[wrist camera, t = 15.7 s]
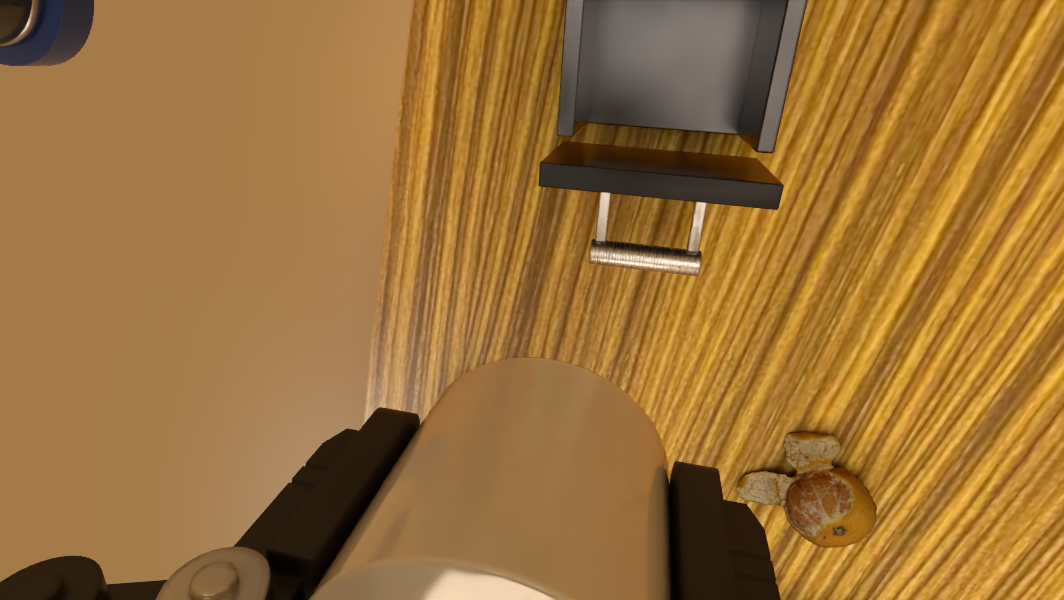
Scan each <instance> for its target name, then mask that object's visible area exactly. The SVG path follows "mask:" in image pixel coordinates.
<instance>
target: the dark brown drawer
mask: <svg viewBox="0 0 1064 600" xmlns="http://www.w3.org/2000/svg"><path fill="white" fill-rule="evenodd" d="M806 5H807V0H566V12H565V26H564V40H563V54H562V68H561V82H560V96H559V110H558V124H557V135H559V136H571V137H572V136H574V135H575V134H576V133H577V132H578V131H579V130H580V129H581V128H582V127H583V126H584V125H585V124H586V123H596V124H608V125H621V126H633V127H646V128H658V129H670V130H683V131H695V132H708V133H720V134H733V135H739V136H740V137H741V138H742V139H743V140H744V141H745V142H746V143H747V144H749V145H750V146H751V147H752V148H753V149H754V150H755V151H756V152H762V153H773V152H774V149H775V145H776V140H777V136H778V131H779V127H780V122H781V118H782V113H783V109H784V104H785V100H786V95H787V91H788V86H789V82H790V77H791V73H792V68H793V64H794V59H795V55H796V50H797V46H798V41H799V37H800V32H801V28H802V23H803V19H804V14H805V9H806ZM539 186H541V187H551V188H561V189H571V190H581V191H591V192H600V198H599V207H598V217H597V226H596V236H595V239H592V241H591V246H590V254H589V263H590V264H598V265H606V266H615V267H623V268H631V269H640V270H648V271H657V272H665V273H673V274H682V275H690V276H698V275H699V272H700V267H701V260H702V253H701V251H699V246H700V241H701V235H702V230H703V224H704V219H705V213H706V208H707V203H712V204H722V205H732V206H742V207H753V208H763V209H773V210H778V208H779V204H780V200H781V195H782V191H783V187H784V185H783V184H782V183H781V182H780V181H779V180H778V179H777V178H776V177H775V176H774V175H773V174H772V173H771V172H770V171H769V170H768V169H767V168H766V167H765V166H764V165H763V164H762V163H761V162H760V161H759V160H758V159H757V158H750V157H738V156H727V155H715V154H703V153H692V152H680V151H669V150H657V149H645V148H634V147H622V146H611V145H599V144H587V143H576V142H562V143H561V144H560V145H559V146H558V147H557V148H556V149H555V150H554V151H552V152H551V153H550V154H549V155H548V156H547V157H546V158H545V159H544V160H542V161H541V162H540V171H539ZM612 194H622V195H632V196H642V197H652V198H662V199H672V200H682V201H692V202H695V203H694V209H693V214H692V220H691V226H690V232H689V238H688V243H687V249H679V248H670V247H661V246H652V245H643V244H634V243H626V242H617V241H608V240H606V239H607V230H608V221H609V213H610V204H611V195H612Z"/></svg>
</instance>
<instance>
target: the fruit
mask: <svg viewBox="0 0 1064 600" xmlns="http://www.w3.org/2000/svg"><path fill="white" fill-rule="evenodd" d="M783 446H784V447H785V450H786V457H785V458H786V461H787V462H789V463H790V464H791V465H792V466H793V467H794V468H796V470H797V475H796V476H795V477H793V478H788V477H787V476H786V474H784V475H783V474H775V473H768V472H766V471H762V472H752V473H751V474H747V475H745V476H743V477H742V479H741V480H740V481H739V483H738V485H737V493H738V496H739V497H740V498H742V499H743V500H746V501H751V502H756V503H763V504H769V505H772V504H777V505H779V506H784V508H785V513H786V516H787V519H788V521H789V523H790V524H791V526H792V527H793V528H794V529H795V530H796V531H797V532H798V533H799V534H800V535H801V536H803V537H804V538H805V539H807V540H808V541H810V542H812V543H813V544H815V545H818V546H822V547H827V548H831V547H833V548H835V547H844V546H847V545H851V544H854V543H857V542H858V541H859V540H861V539H862V538H863V537H866V536H867V535H868V534H869V533H870V532H871V531H872V529H873V527H874V525H875V522H876V517H877V516H876V510H877V507H876V505H875V503H874V502H873V499H872V497H871V496H870V493H869V490H868V489H867V488H866V487H865V486H864V484H863V483H862V482H861V481H860V480H859V479H858V478H857V476H856V475H855V476H854V475H852V474H850V473H849V472H848V471H847V470H846V469H844V468H843V467H839V468H836V469H835V468H834V467H833V466H832V465H831V462H832V460H833V459H834V457H835V456H836V455H837V454H838V453H839V452H840V450H841V445H840V443H839V441H838V440H837V439H836V437H834V436H832V435H828V434H826V435H820V434H814V433H810V432H800V433H794V432H793V433H788V435H787V436H786V438H785V443H784V444H783Z"/></svg>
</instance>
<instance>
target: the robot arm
mask: <svg viewBox="0 0 1064 600" xmlns="http://www.w3.org/2000/svg"><path fill="white" fill-rule="evenodd" d="M44 10H45V0H0V46H16V45H20V44H22V43H25V42H26V41H28V40H29V39H30V38H31V37H32V36H33V35H34V34H35V33H36V31H37V30H38V28H39V26H40V24H41V22H42V19H43V15H44ZM419 426H420V419H419V416H418V415H417V414H415V413H410V412H404V411H398V410H393V409H387V408H381V407H380V408H378V409H376V410H375V411H374V413H373V414H372V415H371V416H370V418H369V419H368V420H367V421H366V423H365V424H364V425H363V426H362V428H361V429H360V430H359V431H358V430H352V429H345V430H344V431H342V432H341V433H339V434H337V435H336V436H334V437H332V438H331V439H329V440H327V441H326V442H324V443H322V445H321V446H320V447H319V448H318V449H317V450H316V452H315V453H314V454H313V455H312V456H311V458H310V459H309V460H308V461H307V462H306V466H305V467H304V466H303V467H302V468H301V469H300V470H299V471H298V473H297V474H296V475H295V476H294V477H293V478H292V482H291V483H288V484H287V485H286V486H285V488H284V489H283V490H282V491H281V492H280V493H279V495H278V496H277V497H276V498H275V499H274V500H273V502H272V503H271V504H270V505H269V506H268V507H267V509H266V510H265V511H264V512H263V513H262V514H261V515H260V517H259V518H258V519H257V520H256V521H255V522H254V524H253V525H252V526H251V527H250V528H249V529H248V531H247V532H246V533H245V534H244V535H243V536H242V537H241V539H240V540H239V541H238V542H237V543H236V544H235V545H234V546H233V547H227V548H221V549H216V550H213V551H210V552H207V553H204V554H202V555H200V556H198V557H196V558H194V559H192V560H191V561H189V562H187V563H186V564H184V565H183V566H182V567H180V568H179V569H178V570H177V571H176V572H175V573H174V574H173V575H171V577H170V578H169V579H168V580H161V581H148V582H134V583H121V584H107V585H106V582H105V578H104V575H103V572H102V569H101V568H100V566H99V565H98V564H97V563H96V562H95V561H94V560H92V559H90V558H86V557H82V556H64V557H57V558H52V559H49V560H45V561H42V562H39V563H36V564H34V565H31V566H29V567H27V568H24V569H22V570H20V571H18V572H17V573H15V574H13V575H11V576H10V577H8V578H6V579H5V580H3V581H1V582H0V600H309V598H310V596H311V595H312V593H313V592H314V590H315V589H316V587H317V586H318V584H319V582H320V581H321V579H322V578H323V576H324V575H325V573H326V572H327V570H328V568H329V567H330V565H331V564H332V562H333V561H334V559H335V557H336V556H337V554H338V553H339V551H340V550H341V548H342V547H343V545H344V543H345V542H346V540H347V539H348V537H349V536H350V534H351V532H352V531H353V529H354V528H355V526H356V525H357V523H358V522H359V520H360V518H361V517H362V515H363V514H364V512H365V511H366V509H367V508H368V506H369V504H370V503H371V501H372V500H373V498H374V497H375V495H376V493H377V492H378V490H379V489H380V487H381V486H382V484H383V483H384V481H385V479H386V478H387V476H388V475H389V473H390V472H391V470H392V468H393V467H394V465H395V464H396V462H397V461H398V459H399V458H400V456H401V454H402V453H403V451H404V450H405V448H406V447H407V445H408V443H409V442H410V440H411V439H412V437H413V436H414V434H415V433H416V431H417V429H418V428H419ZM669 497H670V528H671V559H672V589H673V600H781V599H780V595H779V590H778V586H777V585H776V583H775V580H776V577H775V573H774V569H773V564H772V561H770V551H769V547H768V543H767V538H766V534H765V530H764V528H763V527H762V525H761V524H760V522H759V521H758V520H757V518H756V517H755V515H754V514H753V513H752V511H751V510H750V508H749V507H748V506H747V504H743V503H737V502H732V501H727V500H723V494H722V488H721V481H720V475H719V471H718V469H717V468H711V467H706V466H700V465H695V464H689V463H684V462H678V461H675V463H674V465H673V469H672V474H671V478H670V483H669Z"/></svg>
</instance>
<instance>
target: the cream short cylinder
mask: <svg viewBox="0 0 1064 600" xmlns="http://www.w3.org/2000/svg"><path fill="white" fill-rule="evenodd" d="M309 600H673V589H672V559H671V528H670V497H669V469H668V461H667V456H666V451H665V448H664V445H663V443H662V440H661V437H660V435H659V433H658V432H657V430H656V428H655V426H654V424H653V423H652V421H651V420H650V418H649V417H648V416H647V414H646V413H645V412H644V410H643V409H642V408H641V407H640V406H639V405H638V404H637V403H636V402H635V401H634V400H633V399H632V398H631V397H630V396H629V395H628V394H627V393H625V392H624V391H623V390H622V389H620V388H619V387H618V386H617V385H615V384H613V383H612V382H610V381H609V380H607V379H605V378H604V377H602V376H600V375H598V374H596V373H594V372H592V371H590V370H588V369H585V368H583V367H580V366H577V365H574V364H571V363H567V362H563V361H558V360H554V359H546V358H536V357H522V358H511V359H504V360H499V361H495V362H491V363H488V364H484V365H482V366H480V367H477V368H475V369H473V370H470V371H469V372H467V373H465V374H464V375H462V376H460V377H459V378H457V379H456V380H455V381H454V382H453V383H451V384H450V385H449V386H448V387H447V388H446V389H445V390H444V391H443V392H442V393H441V395H440V396H439V397H438V398H437V400H436V401H435V403H434V404H433V406H432V408H431V409H430V411H429V412H428V414H427V415H426V417H425V419H424V420H423V422H422V423H421V425H420V426H419V428H418V429H417V431H416V433H415V434H414V436H413V437H412V439H411V440H410V442H409V443H408V445H407V447H406V448H405V450H404V451H403V453H402V454H401V456H400V458H399V459H398V461H397V462H396V464H395V465H394V467H393V468H392V470H391V472H390V473H389V475H388V476H387V478H386V479H385V481H384V483H383V484H382V486H381V487H380V489H379V490H378V492H377V493H376V495H375V497H374V498H373V500H372V501H371V503H370V504H369V506H368V508H367V509H366V511H365V512H364V514H363V515H362V517H361V518H360V520H359V522H358V523H357V525H356V526H355V528H354V529H353V531H352V532H351V534H350V536H349V537H348V539H347V540H346V542H345V543H344V545H343V547H342V548H341V550H340V551H339V553H338V554H337V556H336V557H335V559H334V561H333V562H332V564H331V565H330V567H329V568H328V570H327V572H326V573H325V575H324V576H323V578H322V579H321V581H320V582H319V584H318V586H317V587H316V589H315V590H314V592H313V593H312V595H311V596H310V598H309Z"/></svg>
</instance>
